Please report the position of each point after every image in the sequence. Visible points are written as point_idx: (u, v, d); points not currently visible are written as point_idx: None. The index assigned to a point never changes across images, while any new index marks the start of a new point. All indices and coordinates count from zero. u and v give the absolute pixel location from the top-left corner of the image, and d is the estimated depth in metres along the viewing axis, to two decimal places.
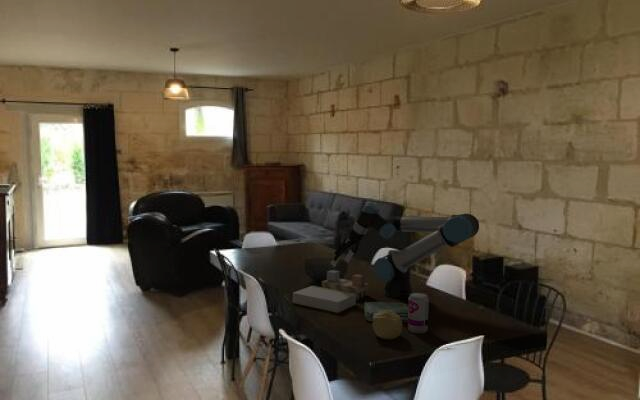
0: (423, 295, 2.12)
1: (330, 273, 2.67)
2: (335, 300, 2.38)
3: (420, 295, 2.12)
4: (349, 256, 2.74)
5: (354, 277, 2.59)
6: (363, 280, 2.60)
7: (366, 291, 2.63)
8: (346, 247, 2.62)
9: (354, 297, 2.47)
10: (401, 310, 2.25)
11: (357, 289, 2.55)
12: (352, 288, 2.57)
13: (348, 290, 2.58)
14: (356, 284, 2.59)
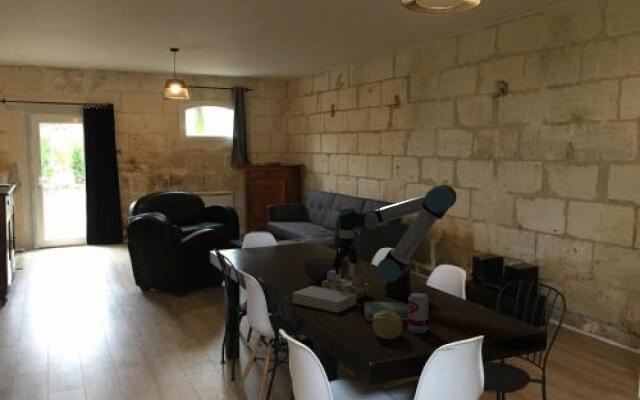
0: (423, 295, 2.12)
1: (330, 273, 2.67)
2: (335, 300, 2.38)
3: (420, 295, 2.12)
4: (352, 269, 2.70)
5: (354, 277, 2.59)
6: (363, 280, 2.60)
7: (366, 291, 2.63)
8: (342, 257, 2.60)
9: (354, 297, 2.47)
10: (401, 310, 2.25)
11: (357, 289, 2.55)
12: (352, 288, 2.57)
13: (348, 290, 2.58)
14: (356, 284, 2.59)
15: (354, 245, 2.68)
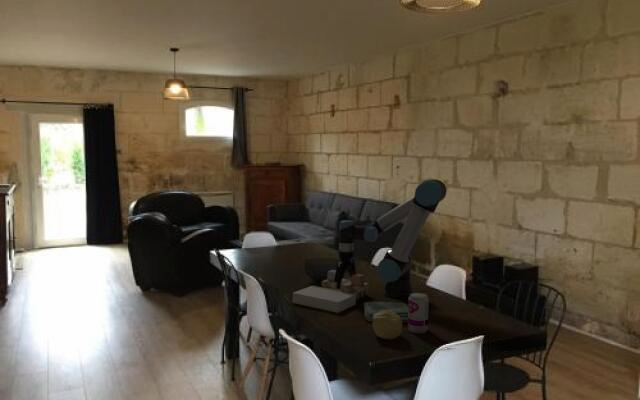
0: (423, 295, 2.12)
1: (331, 273, 2.67)
2: (335, 300, 2.38)
3: (420, 295, 2.12)
4: None
5: (353, 276, 2.59)
6: (362, 280, 2.60)
7: (366, 291, 2.63)
8: (342, 271, 2.61)
9: (354, 297, 2.47)
10: (401, 310, 2.25)
11: (357, 289, 2.55)
12: (352, 288, 2.57)
13: (348, 290, 2.58)
14: (355, 283, 2.59)
15: (354, 259, 2.69)
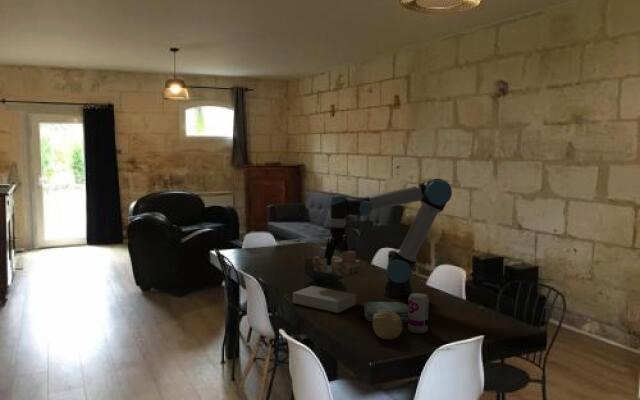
0: (423, 295, 2.12)
1: (322, 249, 2.59)
2: (335, 300, 2.38)
3: (420, 295, 2.12)
4: None
5: (344, 253, 2.52)
6: (353, 257, 2.52)
7: (357, 268, 2.55)
8: (333, 247, 2.53)
9: (354, 297, 2.47)
10: (401, 310, 2.25)
11: (347, 265, 2.47)
12: (342, 264, 2.49)
13: (338, 266, 2.50)
14: (346, 260, 2.51)
15: None
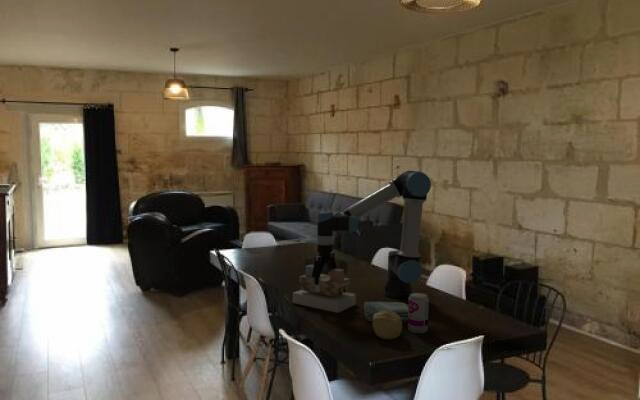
0: (423, 295, 2.12)
1: (309, 268, 2.50)
2: (335, 300, 2.38)
3: (420, 295, 2.12)
4: None
5: (332, 271, 2.42)
6: (342, 275, 2.43)
7: (346, 287, 2.46)
8: (321, 265, 2.43)
9: (354, 297, 2.47)
10: (401, 310, 2.25)
11: (336, 284, 2.38)
12: (331, 283, 2.39)
13: (326, 285, 2.41)
14: (334, 279, 2.42)
15: (334, 253, 2.52)
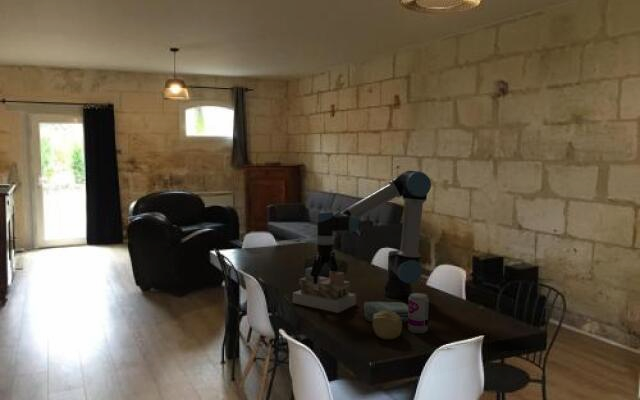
0: (423, 295, 2.12)
1: (309, 270, 2.50)
2: (335, 300, 2.38)
3: (420, 295, 2.12)
4: None
5: (332, 274, 2.42)
6: (342, 278, 2.43)
7: (346, 290, 2.46)
8: (320, 265, 2.43)
9: (354, 297, 2.47)
10: (401, 310, 2.25)
11: (336, 287, 2.38)
12: (331, 286, 2.40)
13: (326, 288, 2.41)
14: (334, 282, 2.42)
15: None
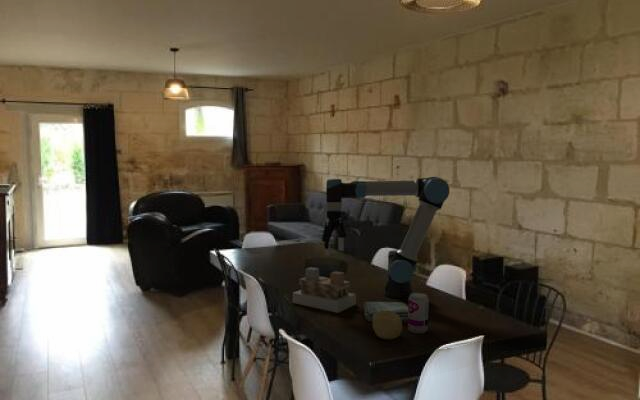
0: (423, 295, 2.12)
1: (309, 270, 2.50)
2: (335, 300, 2.38)
3: (420, 295, 2.12)
4: (341, 243, 2.60)
5: (332, 274, 2.42)
6: (342, 278, 2.43)
7: (346, 290, 2.46)
8: (331, 230, 2.50)
9: (354, 297, 2.47)
10: (401, 310, 2.25)
11: (336, 287, 2.38)
12: (331, 286, 2.40)
13: (326, 288, 2.41)
14: (334, 282, 2.42)
15: None
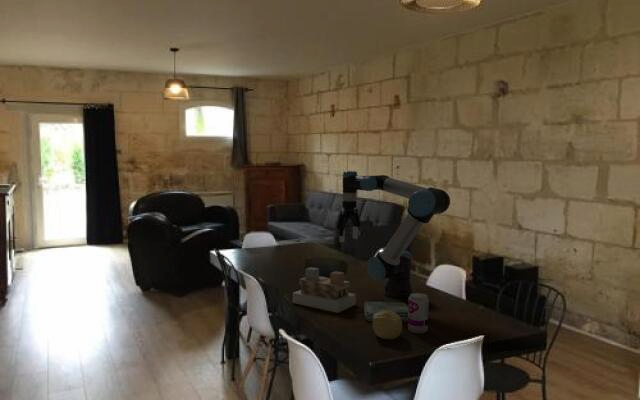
0: (423, 295, 2.12)
1: (309, 270, 2.50)
2: (335, 300, 2.38)
3: (420, 295, 2.12)
4: (355, 232, 2.78)
5: (332, 274, 2.42)
6: (342, 278, 2.43)
7: (346, 290, 2.46)
8: (345, 219, 2.67)
9: (354, 297, 2.47)
10: (401, 310, 2.26)
11: (336, 287, 2.38)
12: (331, 286, 2.40)
13: (326, 288, 2.41)
14: (334, 282, 2.42)
15: None
